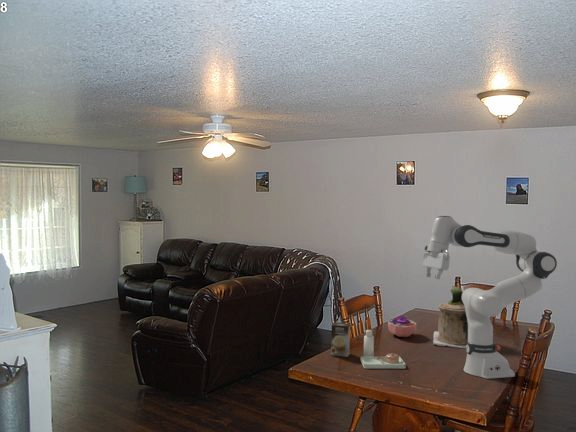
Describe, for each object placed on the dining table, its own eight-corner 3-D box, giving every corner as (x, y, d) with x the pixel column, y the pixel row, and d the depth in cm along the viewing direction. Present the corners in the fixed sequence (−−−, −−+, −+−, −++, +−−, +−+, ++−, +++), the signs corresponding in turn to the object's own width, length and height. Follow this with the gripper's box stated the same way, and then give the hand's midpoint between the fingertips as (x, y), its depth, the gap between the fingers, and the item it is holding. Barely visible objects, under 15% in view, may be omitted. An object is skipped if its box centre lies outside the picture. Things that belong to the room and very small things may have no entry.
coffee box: (330, 355, 264) (330, 324, 263) (332, 352, 270) (333, 322, 270) (348, 357, 262) (348, 326, 261) (349, 353, 268) (350, 323, 267)
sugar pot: (397, 362, 254) (397, 351, 254) (400, 366, 248) (400, 355, 247) (384, 362, 254) (384, 351, 254) (387, 366, 248) (387, 355, 247)
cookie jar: (432, 346, 283) (433, 288, 282) (433, 334, 306) (434, 281, 305) (479, 350, 276) (481, 291, 274) (477, 338, 299) (478, 284, 298)
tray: (399, 360, 257) (399, 356, 257) (405, 368, 245) (405, 364, 245) (360, 360, 257) (360, 356, 256) (364, 368, 245) (364, 363, 244)
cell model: (386, 339, 295) (386, 320, 294) (388, 330, 314) (388, 312, 314) (416, 341, 291) (416, 322, 290) (416, 332, 310) (416, 314, 310)
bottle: (372, 356, 264) (372, 329, 263) (374, 359, 259) (374, 331, 258) (362, 356, 264) (363, 329, 263) (364, 359, 259) (364, 331, 258)
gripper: (455, 251, 230) (449, 281, 229) (434, 249, 250) (428, 277, 250) (442, 248, 229) (436, 279, 228) (422, 246, 249) (417, 274, 248)
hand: (432, 278), depth 239 cm, fingers open, 8 cm apart
